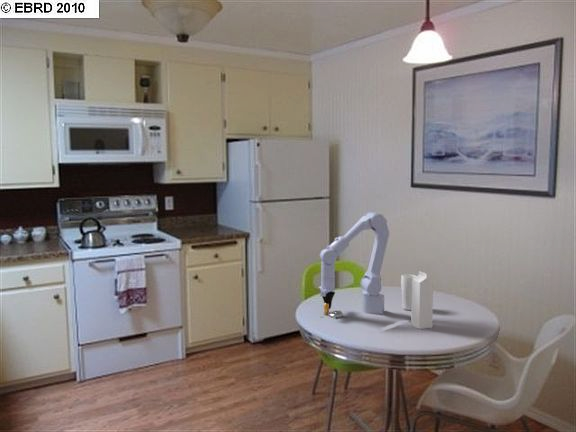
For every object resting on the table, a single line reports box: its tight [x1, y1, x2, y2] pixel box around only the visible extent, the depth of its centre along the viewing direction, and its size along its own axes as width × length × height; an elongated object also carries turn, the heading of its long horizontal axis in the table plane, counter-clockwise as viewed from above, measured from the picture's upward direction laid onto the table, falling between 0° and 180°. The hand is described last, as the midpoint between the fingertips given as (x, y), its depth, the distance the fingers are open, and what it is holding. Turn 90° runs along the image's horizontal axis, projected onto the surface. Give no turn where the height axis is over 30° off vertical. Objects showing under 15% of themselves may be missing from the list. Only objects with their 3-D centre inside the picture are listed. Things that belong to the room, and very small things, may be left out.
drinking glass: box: [400, 273, 417, 311], centre depth 216 cm, size 7×7×15 cm
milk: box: [410, 270, 434, 330], centre depth 193 cm, size 6×6×22 cm
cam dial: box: [323, 302, 348, 320], centre depth 204 cm, size 10×8×5 cm
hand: (327, 308), depth 207 cm, fingers closed, pressing on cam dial
